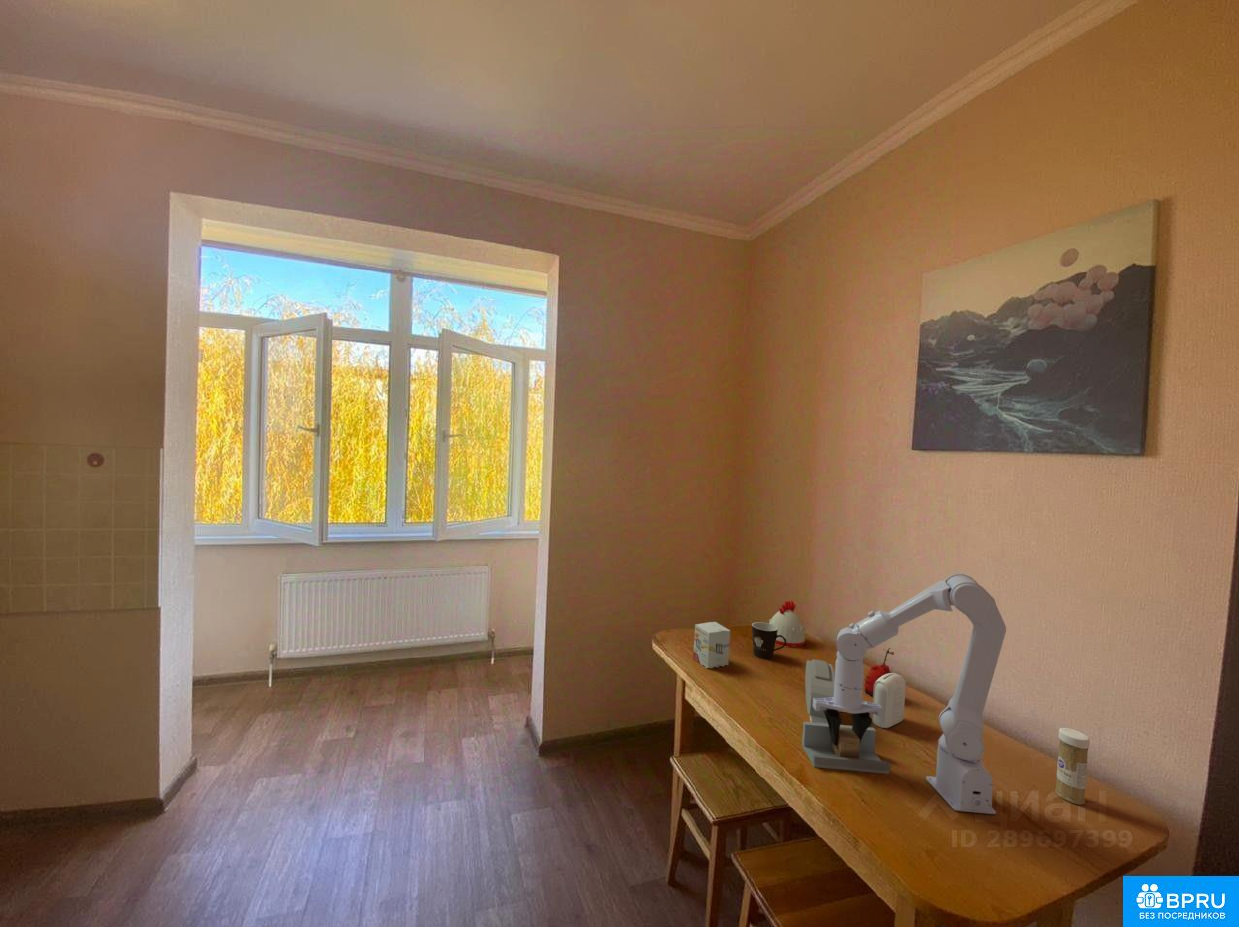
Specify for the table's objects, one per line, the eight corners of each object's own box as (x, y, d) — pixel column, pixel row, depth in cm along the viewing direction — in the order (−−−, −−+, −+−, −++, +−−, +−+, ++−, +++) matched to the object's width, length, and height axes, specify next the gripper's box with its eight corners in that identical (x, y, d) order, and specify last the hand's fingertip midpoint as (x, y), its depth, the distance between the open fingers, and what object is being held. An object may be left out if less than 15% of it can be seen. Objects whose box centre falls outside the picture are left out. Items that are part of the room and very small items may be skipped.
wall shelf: (889, 773, 101) (891, 747, 101) (814, 766, 102) (815, 741, 102) (872, 751, 109) (873, 727, 109) (802, 745, 110) (803, 721, 110)
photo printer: (889, 712, 128) (892, 667, 128) (906, 720, 124) (908, 674, 124) (868, 722, 122) (871, 675, 122) (885, 731, 118) (888, 682, 118)
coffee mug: (745, 651, 165) (747, 622, 165) (766, 649, 168) (768, 621, 168) (765, 665, 154) (766, 634, 154) (787, 663, 157) (788, 633, 157)
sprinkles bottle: (1049, 790, 99) (1052, 726, 99) (1068, 790, 99) (1072, 726, 99) (1072, 806, 94) (1076, 739, 94) (1092, 805, 95) (1096, 739, 95)
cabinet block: (859, 762, 103) (860, 740, 103) (840, 761, 103) (841, 738, 103) (849, 749, 107) (850, 727, 107) (831, 748, 108) (832, 726, 108)
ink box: (692, 658, 156) (694, 623, 156) (713, 655, 160) (715, 620, 160) (707, 669, 148) (709, 632, 148) (729, 666, 152) (731, 629, 152)
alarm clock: (836, 738, 114) (839, 685, 114) (809, 731, 116) (812, 680, 116) (827, 695, 136) (829, 651, 136) (804, 690, 138) (807, 647, 138)
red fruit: (879, 688, 142) (882, 639, 142) (898, 700, 135) (902, 648, 135) (858, 690, 140) (861, 640, 140) (877, 702, 133) (880, 649, 133)
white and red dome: (812, 644, 176) (815, 604, 176) (787, 650, 169) (790, 608, 169) (782, 631, 188) (785, 594, 188) (758, 636, 181) (760, 597, 181)
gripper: (872, 677, 109) (869, 736, 109) (809, 672, 110) (805, 730, 110) (888, 692, 102) (884, 755, 102) (820, 687, 103) (817, 749, 103)
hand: (844, 743), depth 106 cm, fingers closed on cabinet block, 4 cm apart
